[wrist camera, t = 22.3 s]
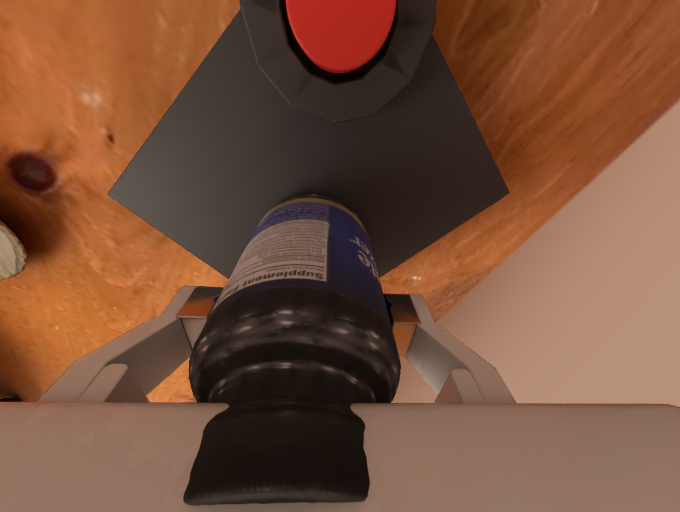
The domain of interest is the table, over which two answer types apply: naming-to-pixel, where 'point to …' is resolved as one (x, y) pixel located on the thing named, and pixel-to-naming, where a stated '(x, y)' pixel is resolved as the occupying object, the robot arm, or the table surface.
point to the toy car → (10, 400)
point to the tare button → (340, 30)
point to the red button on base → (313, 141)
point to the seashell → (11, 253)
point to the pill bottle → (293, 362)
